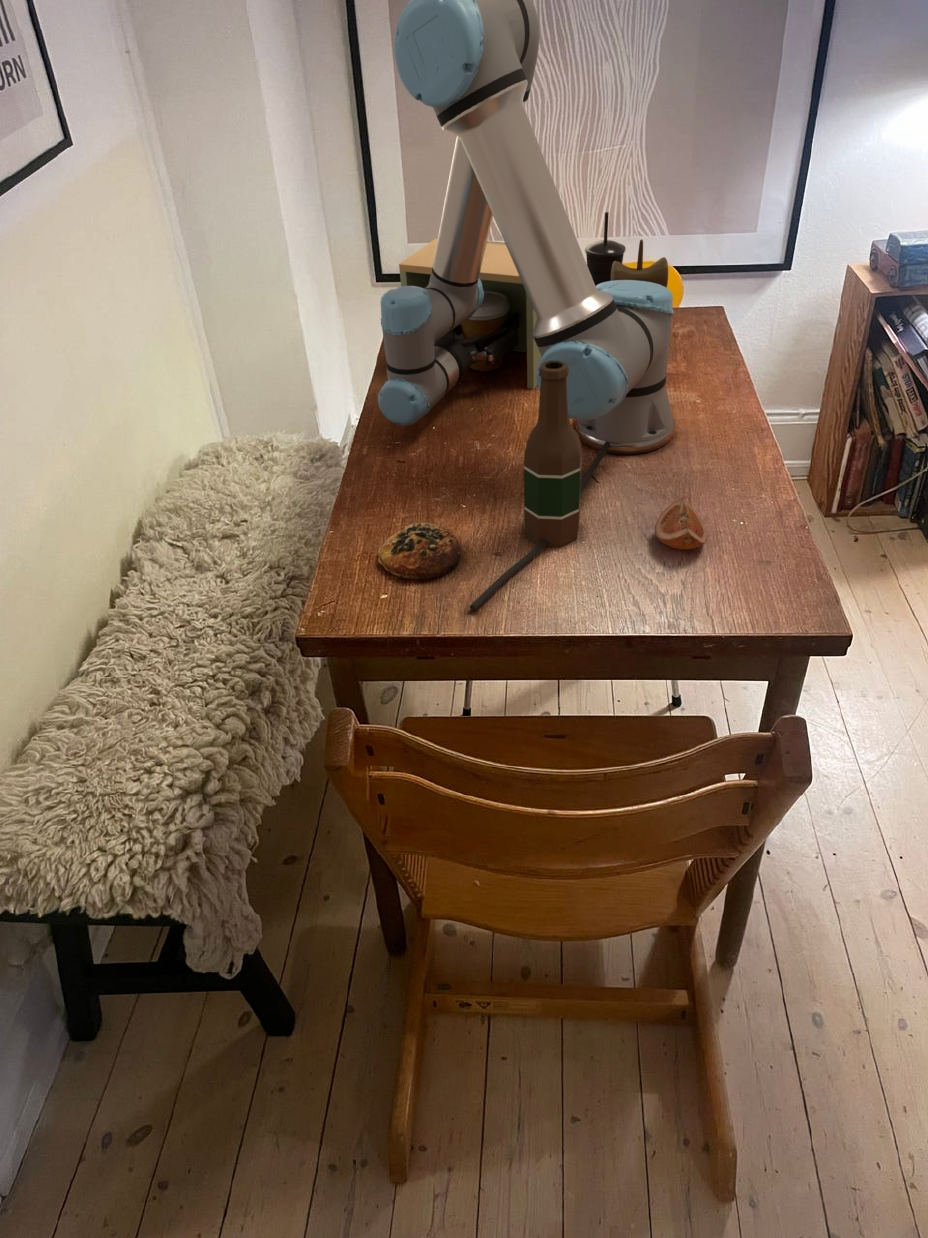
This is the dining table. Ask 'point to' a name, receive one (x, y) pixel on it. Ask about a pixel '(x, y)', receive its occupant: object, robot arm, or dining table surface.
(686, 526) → the fruit slice
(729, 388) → the dining table surface
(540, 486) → the beer bottle
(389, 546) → the bread roll
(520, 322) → the cabinet
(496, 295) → the disposable coffee cup
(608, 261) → the drinking cup
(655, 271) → the kendama
